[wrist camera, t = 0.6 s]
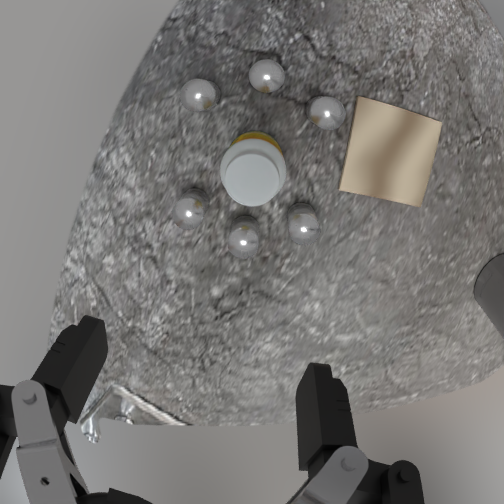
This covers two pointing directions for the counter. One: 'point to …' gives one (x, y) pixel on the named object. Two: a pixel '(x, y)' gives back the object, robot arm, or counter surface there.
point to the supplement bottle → (253, 168)
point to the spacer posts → (246, 227)
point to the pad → (389, 152)
